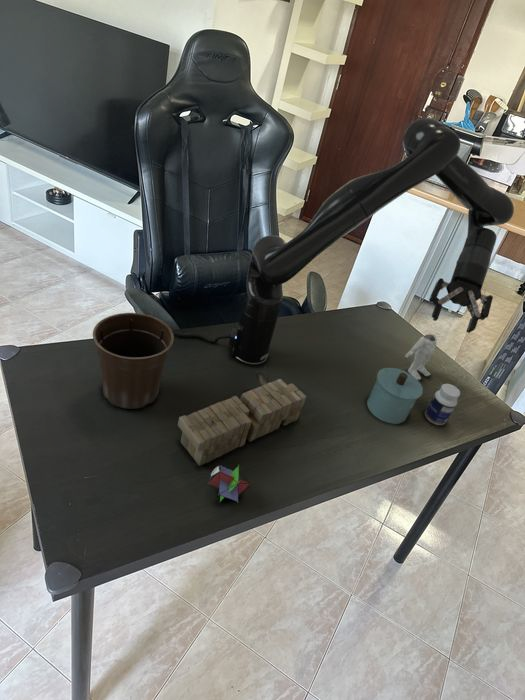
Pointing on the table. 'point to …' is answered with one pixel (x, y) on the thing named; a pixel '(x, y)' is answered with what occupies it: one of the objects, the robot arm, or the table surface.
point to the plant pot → (132, 357)
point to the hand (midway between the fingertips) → (452, 325)
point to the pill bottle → (442, 404)
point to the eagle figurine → (262, 377)
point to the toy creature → (422, 355)
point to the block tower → (239, 420)
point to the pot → (394, 395)
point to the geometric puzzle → (228, 483)
